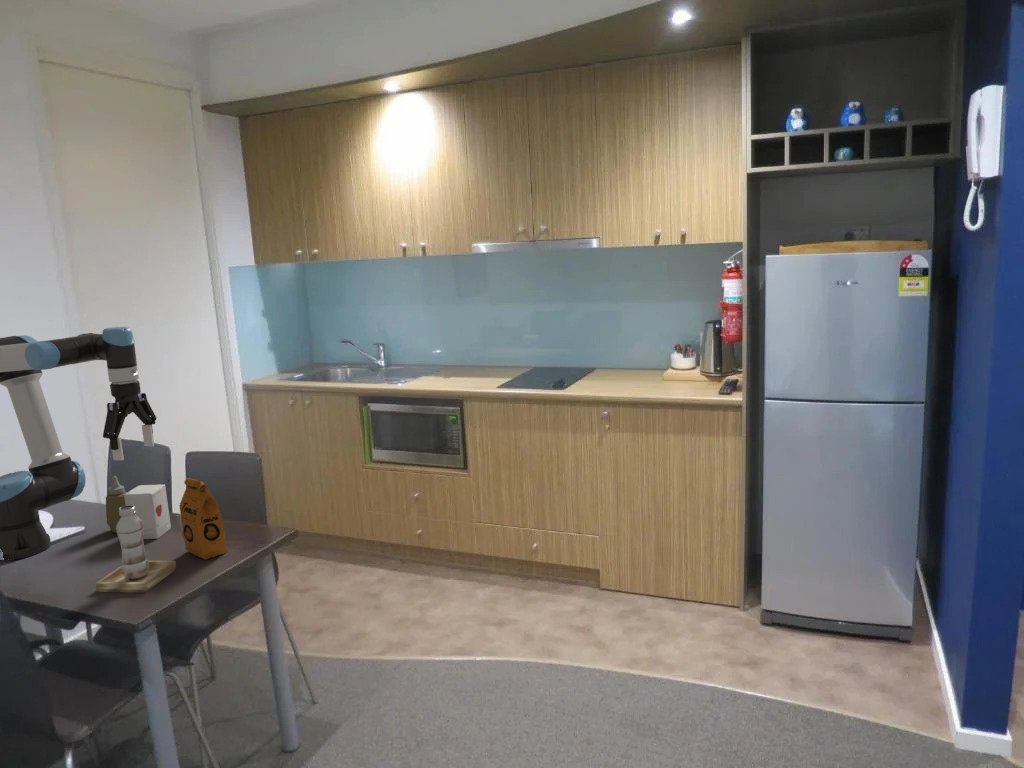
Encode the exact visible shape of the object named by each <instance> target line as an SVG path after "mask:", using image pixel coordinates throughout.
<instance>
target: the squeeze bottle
mask: <svg viewBox="0 0 1024 768" xmlns="http://www.w3.org/2000/svg"><path fill="white" fill-rule="evenodd" d="M126 493H128V492H127V491H126V490H125V486H124V485H121V484H120V482H119V480H118V477H117V476H116V475H114V476H112V477H111V485H110V486H109V488H107V495H106V496H105V513H106V524H107V525H108V527H109V529H110V530H111V532H112V533H113V534H117V532H116V525H117V523H118V521H119V520H120V518H121V516H119V508H120V507H123V506H126V504H125V497H124V495H125V494H126Z"/></svg>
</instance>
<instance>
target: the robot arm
mask: <svg viewBox="0 0 1024 768" xmlns="http://www.w3.org/2000/svg"><path fill="white" fill-rule="evenodd" d="M101 332H102V333H94V332H89V333H80V334H78V335H76V336H71V337H70V336H69V337H65V338H57V339H49V340H41V341H40V340H39V341H38V340H37V339H35V338H34V337H32V336H29V335H11V336H5V337H0V385H1V386H4V387H6V388H7V391H8V395H9V397H10V400H11V403H12V406H13V410H14V413H15V415H16V418H17V421H18V424H19V427H20V430H21V433H22V436H23V438H24V442H25V445H26V447H27V451H28V453H29V454H28V455H29V456H30V460H31V462H30V464H29V465H28V468H27V469H28V470H19V471H17V470H16V471H14V472H9V473H7V474H3V475H1V476H0V549H1V550H2V552H3V558H4V561H13V560H19V559H23V558H28V557H31V556H35V555H36V554H39V553H41V552H44V551H46V550H47V549H48V548H49V547H51V545H52V541H51V537H50V534H49V533H48V532H47V531H46V528H45V527H44V525H43V523H42V522H41V518H40V513H39V511H41V510H44V509H47V508H49V507H52V506H55V505H58V504H60V503H61V504H62V503H64V502H68V501H70V500H71V499H75V498H76V497H78V496H80V495H81V494H82V493H83V491H84V489H85V486H86V472H85V470H84V467H83V466H82V465H81V464H80V462H78V461H76V460H72V458H71V456H70V455H69V454H66V453H65V452H63V449H62V445H61V443H60V439H59V437H58V433H57V430H56V427H55V424H54V422H53V419H52V415H51V413H50V410H49V407H48V404H47V401H46V397H45V393H44V391H43V388H42V386H41V383H40V379H41V377H42V376H43V372H42V371H43V370H50V369H53V368H60V367H64V366H65V367H66V366H70V365H76V364H81V363H87V362H92V361H106V368H107V375H108V382H110V384H109V387H110V394H111V397H113V398H114V402H108V403H107V404H106V408H107V410H106V411H107V413H106V417H105V423H104V428H103V434H102V437H103V438H104V439H109V443H110V449H111V451H112V458H113V461H124V460H125V457H124V451H123V450H124V449H123V443H122V436H121V437H120V433H121V430H122V428H123V425H124V423H125V420H126V418H128V415H131V414H132V413H133V414H134V415H135V416H136V417H137V418H138V420H140V421H141V423H143V424H142V425H141V431H142V439H143V444H144V447H155V443H154V430H153V425H155V424H156V421H157V418H158V417H157V416H156V414H155V412H154V410H153V408H152V406H151V405H150V402H149V400H148V398H147V394H146V392H141V383H140V381H139V378H140V376H139V371H138V362H137V354H136V346H135V345H136V344H135V339H134V335H133V331H132V328H130V327H129V326H116V327H106V328H104V329H103V330H102V331H101Z"/></svg>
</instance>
